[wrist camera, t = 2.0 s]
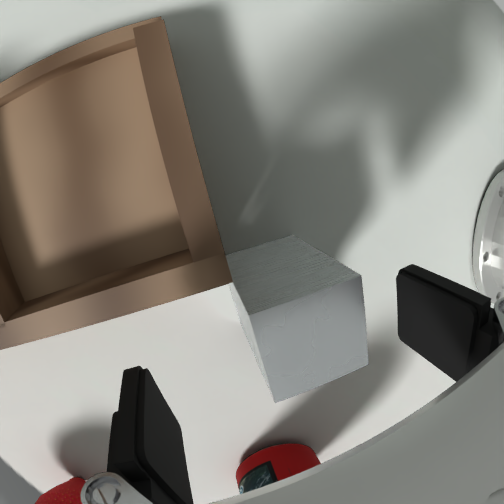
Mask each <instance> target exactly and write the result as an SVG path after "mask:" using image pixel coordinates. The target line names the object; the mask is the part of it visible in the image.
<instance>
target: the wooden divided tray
mask: <svg viewBox="0 0 504 504" xmlns="http://www.w3.org/2000/svg"><path fill="white" fill-rule="evenodd" d="M232 282H233V280H232V276H231V273H230V269H229V266H228V263H227V259H226V256H225V252H224V249H223V245H222V242H221V238H220V235H219V231H218V228H217V224H216V221H215V217H214V214H213V210H212V206H211V203H210V199H209V196H208V192H207V188H206V185H205V181H204V177H203V174H202V170H201V166H200V162H199V159H198V155H197V151H196V147H195V144H194V140H193V136H192V132H191V128H190V125H189V121H188V117H187V113H186V109H185V105H184V101H183V97H182V93H181V89H180V85H179V81H178V77H177V73H176V69H175V65H174V61H173V57H172V52H171V48H170V44H169V40H168V36H167V31H166V27H165V23H164V20H162V19H161V16H160V17H156V18H152V19H148V20H145V21H141V22H138V23H134V24H131V25H128V26H125V27H121V28H118V29H115V30H112V31H109V32H107V33H104V34H101V35H98V36H96V37H93V38H90V39H88V40H85V41H83V42H80V43H78V44H76V45H73V46H71V47H69V48H66V49H64V50H62V51H60V52H57V53H55V54H53V55H51V56H49V57H47V58H45V59H43V60H41V61H39V62H37V63H35V64H33V65H31V66H29V67H27V68H26V69H24V70H22V71H20V72H18V73H17V74H15V75H13V76H11V77H10V78H8V79H6V80H5V81H3V82H1V83H0V350H2V349H6V348H9V347H13V346H17V345H21V344H24V343H28V342H32V341H36V340H39V339H43V338H47V337H50V336H54V335H57V334H61V333H65V332H68V331H72V330H75V329H79V328H82V327H86V326H89V325H93V324H96V323H100V322H103V321H107V320H110V319H114V318H117V317H121V316H124V315H127V314H131V313H134V312H138V311H141V310H144V309H148V308H151V307H154V306H158V305H161V304H164V303H168V302H171V301H174V300H177V299H181V298H184V297H187V296H190V295H194V294H197V293H200V292H203V291H207V290H210V289H213V288H216V287H219V286H223V285H226V284H229V283H232Z"/></svg>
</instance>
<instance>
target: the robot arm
mask: <svg viewBox="0 0 504 504" xmlns="http://www.w3.org/2000/svg"><path fill="white" fill-rule="evenodd" d="M473 273H474V278H475V283H476V286H477V289H478V291H479V293H478V292H476V291H474V290H472V289H469V288H467V287H465V286H463V285H460V284H458V283H456V282H454V281H451V280H449V279H447V278H444V277H442V276H440V275H437V274H435V273H433V272H430V271H428V270H426V269H423V268H421V267H419V266H416V265H413V264H411V265H409V266H407V267H405V268H402V269H400V270H399V273H398V275H397V277H396V284H397V308H398V336H399V338H400V340H401V341H402V342H404V343H405V344H406V345H408V346H409V347H410V348H412V349H413V350H414V351H416V352H417V353H419V354H420V355H421V356H423V357H424V358H425V359H427V360H428V361H429V362H431V363H432V364H433V365H435V366H436V367H437V368H439V369H440V370H441V371H443V372H444V373H445V374H447V375H448V376H449V377H451V378H452V379H453V380H455V381H456V383H455V384H453V385H452V386H451V387H449V388H448V389H447V390H445V391H444V392H443V393H441V394H440V395H439V396H437V397H436V398H434V399H433V400H432V401H430V402H429V403H427V404H426V405H424V406H423V407H422V408H420V409H419V410H417V411H416V412H414V413H413V414H411V415H410V416H408V417H406V418H405V419H403V420H402V421H400V422H398V423H397V424H395V425H394V426H392V427H390V428H389V429H387V430H385V431H383V432H382V433H380V434H378V435H377V436H375V437H373V438H371V439H369V440H368V441H366V442H364V443H362V444H360V445H358V446H356V447H354V448H353V449H351V450H349V451H347V452H345V453H343V454H341V455H339V456H337V457H334V458H332V459H330V460H328V461H326V462H324V463H322V464H319V465H317V466H315V467H313V468H310V469H308V470H306V471H303V472H301V473H298V474H296V475H293V476H291V477H288V478H286V479H283V480H280V481H278V482H275V483H272V484H269V485H267V486H264V487H261V488H258V489H255V490H252V491H249V492H246V493H243V494H240V495H237V496H233V497H230V498H227V499H223V500H219V501H216V502H212V503H209V504H504V169H503V170H502V171H500V172H499V173H498V174H497V175H496V176H495V178H494V179H493V180H492V182H491V183H490V185H489V187H488V189H487V191H486V193H485V196H484V198H483V201H482V204H481V207H480V211H479V214H478V218H477V223H476V228H475V235H474V243H473ZM491 303H494V309H493V308H491V307H490V305H491ZM80 496H81V502H82V504H193V499H192V493H191V488H190V482H189V477H188V471H187V465H186V458H185V452H184V445H183V438H182V431H181V428H180V425H179V423H178V421H177V419H176V418H175V416H174V414H173V413H172V411H171V409H170V408H169V406H168V404H167V402H166V401H165V399H164V397H163V395H162V394H161V392H160V390H159V388H158V386H157V385H156V383H155V381H154V379H153V377H152V375H151V373H150V372H149V370H148V369H147V368H146V369H142V367H141V366H137V367H133V368H130V369H126V370H124V372H123V378H122V385H121V392H120V400H119V408H118V411H117V412H115V413H113V417H112V425H111V433H110V443H109V453H108V464H107V472H102V473H99V474H96V475H94V476H93V477H91V478H89V479H88V481H87V482H86V483H85V484H84V486H83V488H82V490H81V495H80Z"/></svg>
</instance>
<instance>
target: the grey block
mask: <svg viewBox="0 0 504 504" xmlns="http://www.w3.org/2000/svg"><path fill="white" fill-rule="evenodd" d="M225 256H226V259H227V263H228V266H229V269H230V273H231V276H232V280H233V282H232V283H229V287H230V290H231V294H232V297H233V300H234V303H235V307H236V310H237V313H238V316H239V320H240V323H241V325H242V328H243V330H244V332H245V335H246V337H247V339H248V342H249V344H250V347H251V349H252V351H253V354H254V356H255V358H256V361H257V363H258V365H259V368H260V370H261V372H262V375H263V377H264V379H265V381H266V384H267V386H268V388H269V390H270V393H271V395H272V397H273V399H274V402H275V403H277V402H279V401H282V400H285V399H288V398H290V397H293V396H296V395H298V394H301V393H304V392H306V391H309V390H311V389H314V388H316V387H319V386H321V385H324V384H326V383H328V382H331V381H333V380H335V379H338V378H340V377H342V376H344V375H347V374H349V373H351V372H353V371H356V370H358V369H360V368H362V367H364V366H366V365H368V346H367V331H366V318H365V307H364V296H363V287H362V278H361V275H360V274H358V273H357V272H355V271H353V270H352V269H350V268H348V267H347V266H345V265H343V264H342V263H340V262H338V261H337V260H335V259H333V258H331V257H330V256H328V255H326V254H325V253H323V252H321V251H320V250H318V249H316V248H314V247H313V246H311V245H309V244H308V243H306V242H304V241H302V240H301V239H299V238H297V237H295V236H294V235H290V236H287V237H283V238H280V239H277V240H274V241H270V242H267V243H264V244H261V245H257V246H254V247H251V248H247V249H244V250H241V251H238V252H234V253H231V254H228V255H225Z"/></svg>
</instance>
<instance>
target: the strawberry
mask: <svg viewBox="0 0 504 504" xmlns="http://www.w3.org/2000/svg"><path fill="white" fill-rule="evenodd" d="M85 483H86V481H85V480H83V479H82V478H79V477H74V478H72V479H70V480H69V481H67V482H65V483H63V484H60V485H58V486H56V487H54V488H52V489H51V490H49V491H47V492H46V493H44V494H42V495H41V496H40V497H39V499H38V500H37V501H36V503H35V504H82V502H81V496H80V495H81V490H82V488H83V486H84V484H85Z"/></svg>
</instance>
